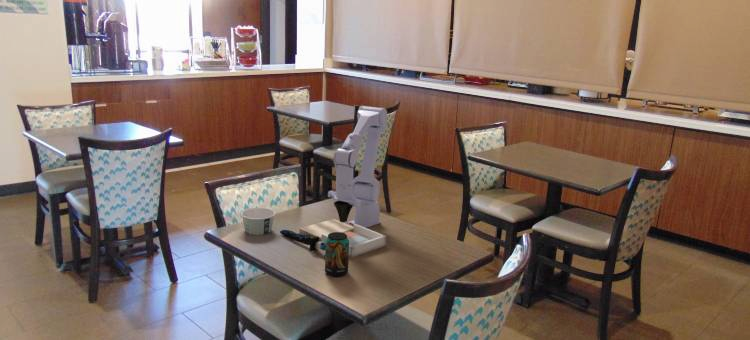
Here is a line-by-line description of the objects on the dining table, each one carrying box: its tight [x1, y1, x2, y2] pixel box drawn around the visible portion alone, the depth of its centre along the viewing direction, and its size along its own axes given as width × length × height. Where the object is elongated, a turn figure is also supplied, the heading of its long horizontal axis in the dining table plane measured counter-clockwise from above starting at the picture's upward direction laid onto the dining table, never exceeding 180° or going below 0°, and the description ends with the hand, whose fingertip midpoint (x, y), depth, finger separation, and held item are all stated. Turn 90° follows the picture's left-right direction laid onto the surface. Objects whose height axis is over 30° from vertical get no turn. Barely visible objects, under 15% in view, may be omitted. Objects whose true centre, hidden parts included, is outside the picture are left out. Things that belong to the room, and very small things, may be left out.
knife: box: [279, 229, 326, 251], centre depth 188 cm, size 31×3×4 cm, turn 43°
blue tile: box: [349, 235, 367, 246], centre depth 191 cm, size 4×4×2 cm
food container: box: [240, 207, 276, 236], centre depth 201 cm, size 12×12×6 cm
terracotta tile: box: [345, 231, 357, 240], centre depth 194 cm, size 4×4×2 cm
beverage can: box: [324, 232, 350, 278], centre depth 169 cm, size 7×7×12 cm
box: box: [321, 224, 387, 258], centre depth 192 cm, size 16×15×4 cm
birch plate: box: [298, 218, 354, 242], centre depth 201 cm, size 16×12×2 cm
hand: (343, 221), depth 194 cm, fingers closed
